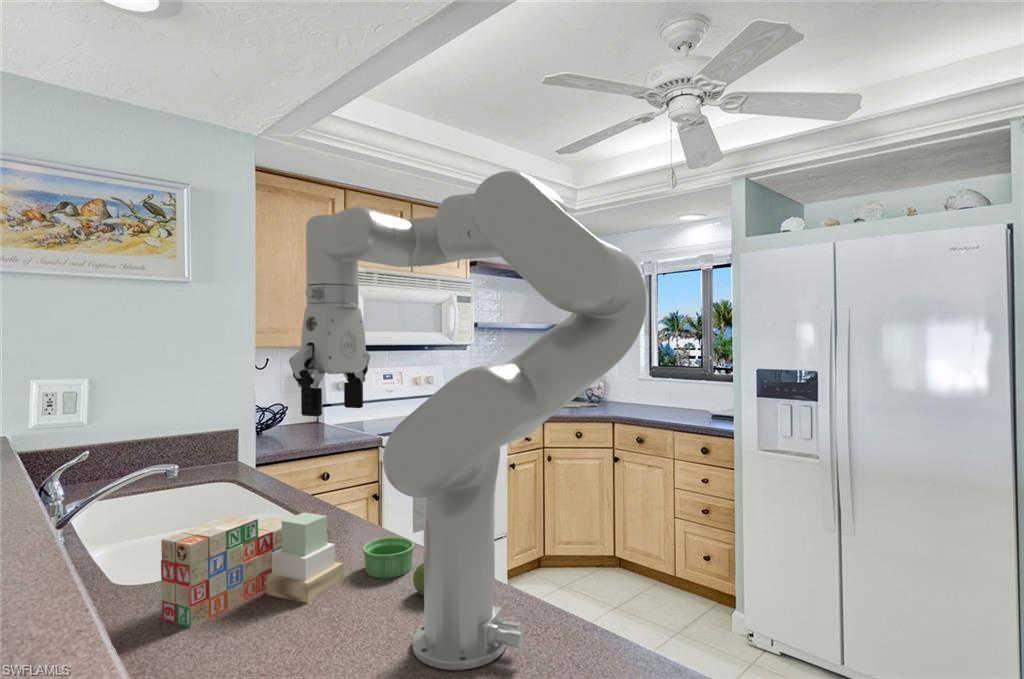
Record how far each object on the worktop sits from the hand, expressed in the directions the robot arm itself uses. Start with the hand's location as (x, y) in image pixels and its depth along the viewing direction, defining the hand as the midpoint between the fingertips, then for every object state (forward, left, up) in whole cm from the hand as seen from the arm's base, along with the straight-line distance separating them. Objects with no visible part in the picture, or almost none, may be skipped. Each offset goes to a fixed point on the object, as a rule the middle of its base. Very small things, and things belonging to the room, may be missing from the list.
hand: (333, 411), depth 86 cm
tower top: (+10, -5, -27) cm, 29 cm away
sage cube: (+10, -5, -24) cm, 26 cm away
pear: (-13, -9, -31) cm, 35 cm away
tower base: (+10, -5, -31) cm, 33 cm away
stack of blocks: (+19, +1, -31) cm, 36 cm away
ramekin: (+1, -16, -31) cm, 35 cm away
